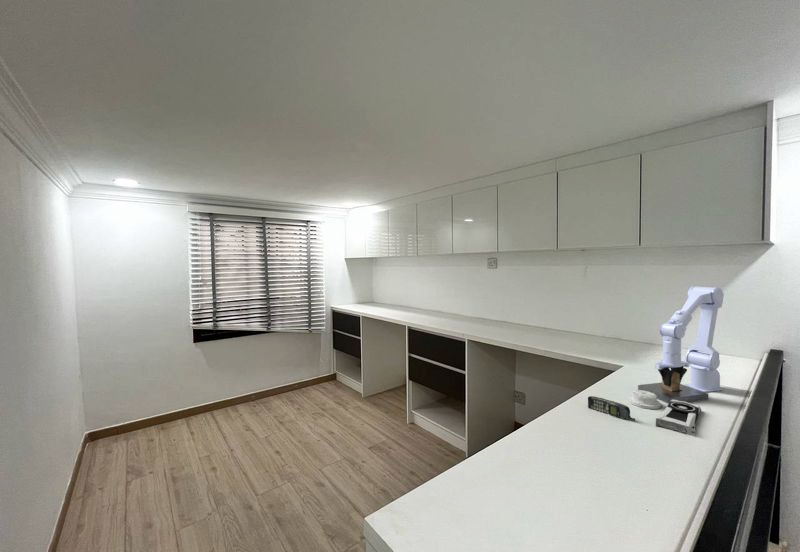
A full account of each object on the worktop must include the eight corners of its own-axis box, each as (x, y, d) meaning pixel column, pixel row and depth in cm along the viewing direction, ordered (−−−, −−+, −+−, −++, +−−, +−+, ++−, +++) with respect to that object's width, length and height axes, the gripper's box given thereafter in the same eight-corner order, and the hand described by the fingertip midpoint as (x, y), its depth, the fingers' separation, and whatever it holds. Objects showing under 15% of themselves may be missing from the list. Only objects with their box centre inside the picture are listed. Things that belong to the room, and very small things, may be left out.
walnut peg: (670, 387, 137) (669, 370, 137) (679, 390, 133) (679, 373, 133) (662, 388, 136) (661, 371, 136) (671, 391, 132) (671, 374, 132)
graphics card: (655, 418, 110) (670, 396, 126) (655, 428, 110) (670, 405, 126) (695, 429, 102) (705, 404, 119) (695, 439, 102) (705, 413, 119)
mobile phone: (586, 396, 125) (632, 408, 113) (590, 394, 126) (635, 406, 115) (587, 409, 125) (633, 422, 113) (590, 406, 127) (636, 419, 115)
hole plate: (673, 386, 143) (673, 381, 143) (708, 399, 129) (708, 393, 129) (638, 390, 140) (638, 385, 140) (670, 404, 126) (670, 398, 126)
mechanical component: (637, 409, 123) (666, 410, 121) (636, 397, 123) (666, 399, 121) (624, 398, 133) (651, 399, 131) (624, 387, 133) (651, 388, 131)
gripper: (676, 348, 139) (676, 380, 139) (648, 351, 136) (647, 383, 137) (694, 353, 132) (694, 386, 132) (664, 355, 129) (664, 389, 130)
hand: (671, 385), depth 134 cm, fingers closed on walnut peg, 4 cm apart
